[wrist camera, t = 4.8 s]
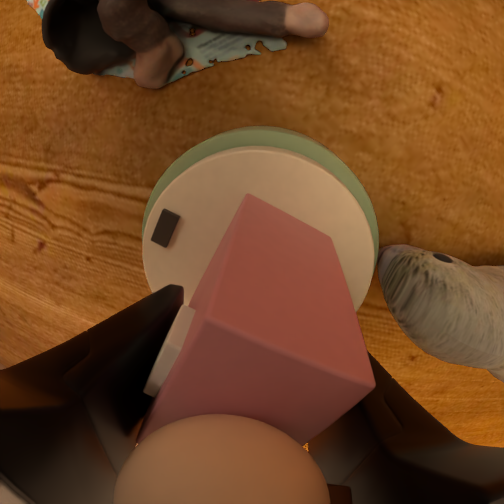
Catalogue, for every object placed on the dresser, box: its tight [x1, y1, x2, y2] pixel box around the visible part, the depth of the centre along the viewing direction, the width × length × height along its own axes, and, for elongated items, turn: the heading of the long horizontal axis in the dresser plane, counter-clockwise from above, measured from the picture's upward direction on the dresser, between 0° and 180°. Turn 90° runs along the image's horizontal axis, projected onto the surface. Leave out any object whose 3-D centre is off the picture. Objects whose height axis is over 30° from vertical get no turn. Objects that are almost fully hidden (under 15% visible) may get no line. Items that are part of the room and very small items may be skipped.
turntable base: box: [142, 126, 379, 276], centre depth 13 cm, size 9×9×2 cm
